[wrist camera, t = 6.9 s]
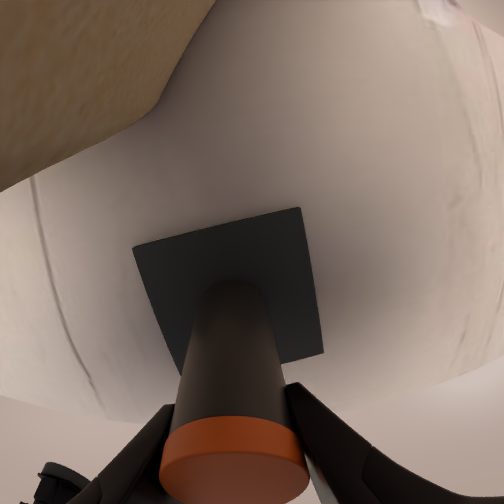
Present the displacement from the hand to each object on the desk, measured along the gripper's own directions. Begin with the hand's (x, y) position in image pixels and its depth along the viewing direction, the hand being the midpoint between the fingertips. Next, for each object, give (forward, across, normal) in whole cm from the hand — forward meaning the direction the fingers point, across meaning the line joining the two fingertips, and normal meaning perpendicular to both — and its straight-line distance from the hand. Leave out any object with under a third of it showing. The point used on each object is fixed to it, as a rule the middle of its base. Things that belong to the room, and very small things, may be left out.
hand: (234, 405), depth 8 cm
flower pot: (+7, +3, -18) cm, 20 cm away
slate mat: (+7, 0, 0) cm, 7 cm away
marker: (+6, 0, 0) cm, 6 cm away
